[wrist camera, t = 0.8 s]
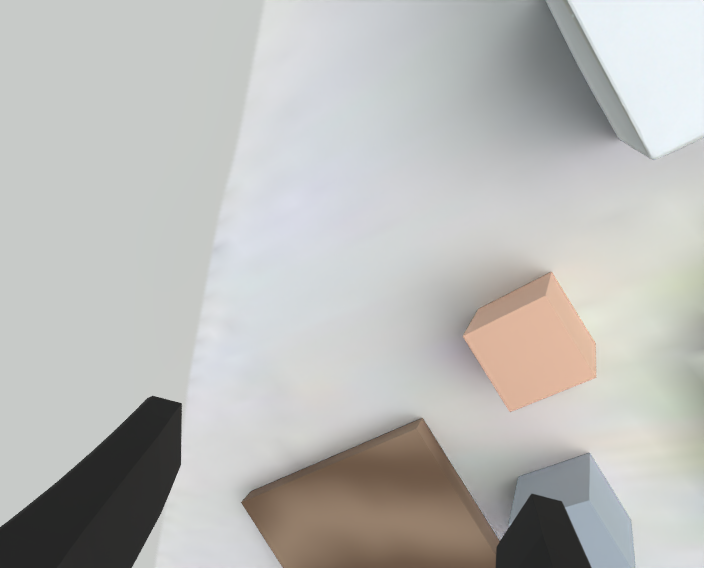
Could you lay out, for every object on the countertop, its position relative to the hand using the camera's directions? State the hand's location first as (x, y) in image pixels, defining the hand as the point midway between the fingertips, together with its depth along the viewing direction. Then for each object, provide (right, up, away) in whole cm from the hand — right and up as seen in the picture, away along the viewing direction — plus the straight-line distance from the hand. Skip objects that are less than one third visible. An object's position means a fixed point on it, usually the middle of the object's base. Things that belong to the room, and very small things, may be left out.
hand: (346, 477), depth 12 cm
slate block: (+12, -7, +18) cm, 22 cm away
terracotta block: (+9, +2, +16) cm, 19 cm away
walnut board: (+3, -13, +23) cm, 27 cm away
